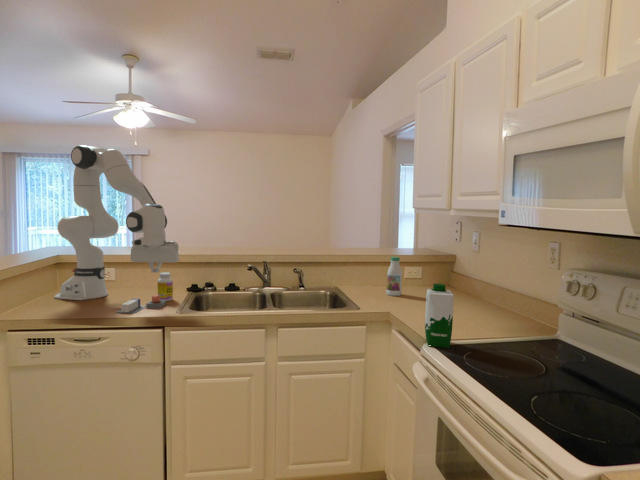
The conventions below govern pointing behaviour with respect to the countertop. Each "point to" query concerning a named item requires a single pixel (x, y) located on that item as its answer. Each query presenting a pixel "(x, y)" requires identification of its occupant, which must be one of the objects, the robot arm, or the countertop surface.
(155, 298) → the button
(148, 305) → the button collar
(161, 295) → the supplement bottle
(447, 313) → the milk carton
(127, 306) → the grey rectangular bar
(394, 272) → the milk bottle
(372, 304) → the countertop surface
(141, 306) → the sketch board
